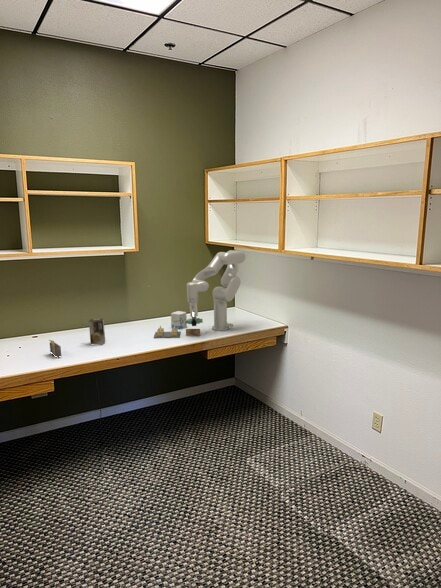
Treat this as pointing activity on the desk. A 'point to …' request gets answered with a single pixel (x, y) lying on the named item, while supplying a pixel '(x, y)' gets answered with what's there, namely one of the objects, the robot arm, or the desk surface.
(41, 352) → the desk surface
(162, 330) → the chassis
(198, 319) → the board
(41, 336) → the desk surface
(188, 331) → the block
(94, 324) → the coffee box
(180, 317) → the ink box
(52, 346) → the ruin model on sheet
